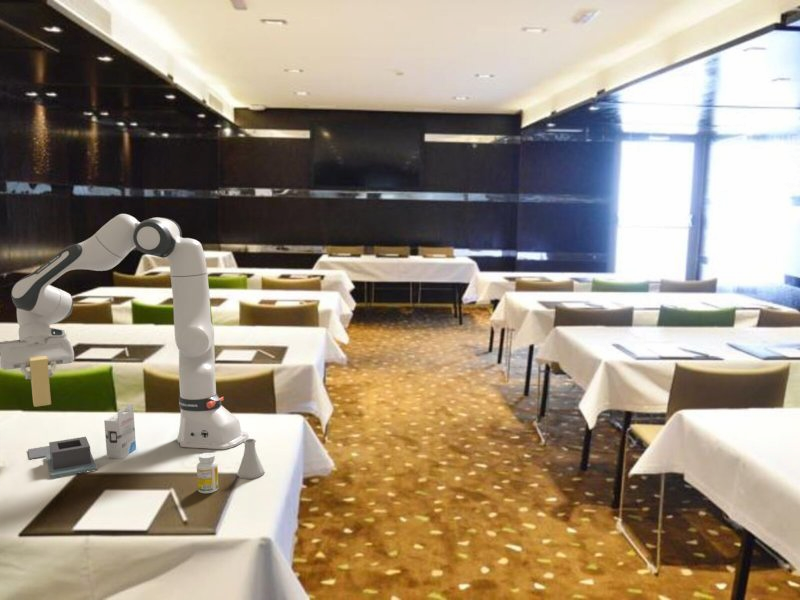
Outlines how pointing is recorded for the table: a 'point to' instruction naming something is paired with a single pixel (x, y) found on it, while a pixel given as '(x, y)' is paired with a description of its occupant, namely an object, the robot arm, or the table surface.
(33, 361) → the plug
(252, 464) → the flask
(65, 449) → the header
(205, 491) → the supplement bottle
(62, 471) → the board
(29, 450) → the pad
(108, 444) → the ink box
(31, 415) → the table surface
